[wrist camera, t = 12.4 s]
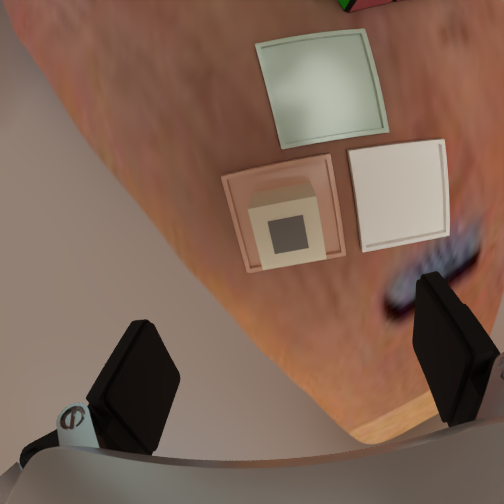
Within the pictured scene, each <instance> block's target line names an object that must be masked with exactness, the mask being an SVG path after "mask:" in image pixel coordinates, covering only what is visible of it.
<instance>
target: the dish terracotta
mask: <svg viewBox="0 0 504 504" xmlns="http://www.w3.org/2000/svg"><path fill="white" fill-rule="evenodd" d="M221 179H222V183H223V187H224V191H225V194H226V198H227V202H228V205H229V209H230V213H231V216H232V220H233V224H234V227H235V231H236V235H237V238H238V242H239V246H240V249H241V253H242V256H243V260H244V264H245V267H246V271H247V273H252V272H258V271H263V269H262V265H261V261H260V257H259V253H258V249H257V245H256V241H255V237H254V233H253V229H252V225H251V221H250V217H249V213H248V207H249V204H250V201H251V199H252V196H253V193H257V192H261V191H266V190H271V189H276V188H281V187H286V186H291V185H297V184H302V183H307V182H310V183H311V185H312V187H313V190H314V192H315V194H316V198H317V203H318V209H319V214H320V220H321V226H322V232H323V239H324V245H325V251H326V258H327V259H331V258H336V257H342V256H346V250H345V243H344V235H343V228H342V220H341V214H340V207H339V201H338V194H337V188H336V182H335V177H334V171H333V166H332V160H331V155H330V153H324V154H318V155H312V156H307V157H302V158H296V159H291V160H286V161H281V162H276V163H271V164H267V165H262V166H257V167H253V168H248V169H244V170H239V171H235V172H231V173H227V174H223V175H222V176H221ZM324 260H325V259H324ZM318 261H320V260H318ZM313 262H314V261H313ZM307 263H309V262H307ZM302 264H303V263H302ZM296 265H298V264H296ZM290 266H292V265H290ZM285 267H286V266H285ZM279 268H281V267H279ZM273 269H275V268H273ZM267 270H269V269H267Z"/></svg>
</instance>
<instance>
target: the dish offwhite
mask: <svg viewBox="0 0 504 504" xmlns="http://www.w3.org/2000/svg"><path fill="white" fill-rule="evenodd" d="M346 151H347V156H348V162H349V168H350V174H351V180H352V187H353V193H354V200H355V208H356V215H357V223H358V232H359V241H360V249H361V250H362V252H368V251H373V250H379V249H384V248H389V247H394V246H399V245H404V244H409V243H415V242H420V241H425V240H430V239H434V238H439V237H444V236H449V234H450V214H449V185H448V170H447V158H446V148H445V140H444V139H441V138H435V139H425V140H415V141H406V142H398V143H390V144H382V145H375V146H368V147H361V148H354V149H348V150H346Z"/></svg>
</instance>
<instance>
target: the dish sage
mask: <svg viewBox="0 0 504 504" xmlns="http://www.w3.org/2000/svg"><path fill="white" fill-rule="evenodd" d="M255 47H256V51H257V54H258V58H259V62H260V65H261V69H262V73H263V77H264V80H265V84H266V88H267V92H268V96H269V100H270V104H271V108H272V112H273V116H274V120H275V124H276V128H277V132H278V137H279V141H280V145H281V150H282V149H287V148H293V147H298V146H303V145H308V144H314V143H320V142H326V141H332V140H338V139H344V138H351V137H357V136H365V135H372V134H380V133H388V132H389V127H388V122H387V116H386V111H385V106H384V101H383V96H382V92H381V87H380V83H379V79H378V74H377V70H376V66H375V63H374V59H373V55H372V51H371V48H370V44H369V41H368V37H367V34H366V31H365V29H351V30H339V31H330V32H321V33H313V34H306V35H300V36H293V37H287V38H282V39H277V40H271V41H267V42H262V43H257V44H255Z"/></svg>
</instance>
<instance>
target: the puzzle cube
mask: <svg viewBox="0 0 504 504" xmlns="http://www.w3.org/2000/svg"><path fill="white" fill-rule="evenodd" d="M338 1H339V3H340V5H341V6H342V8H343V10H344V11H347V12H352V11H356V10H360V9H364V8H368V7H373V6H377V5H382V4H387V3H390V2H391V1H392V0H338ZM393 1H395V2H397V1H402V0H393Z"/></svg>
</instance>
